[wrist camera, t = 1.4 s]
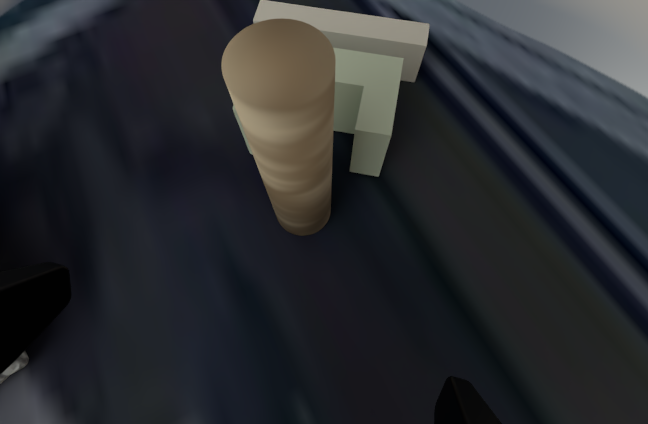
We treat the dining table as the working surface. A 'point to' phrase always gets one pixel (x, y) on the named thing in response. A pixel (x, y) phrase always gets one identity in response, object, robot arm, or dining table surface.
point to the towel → (15, 366)
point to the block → (363, 105)
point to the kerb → (358, 32)
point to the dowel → (287, 115)
